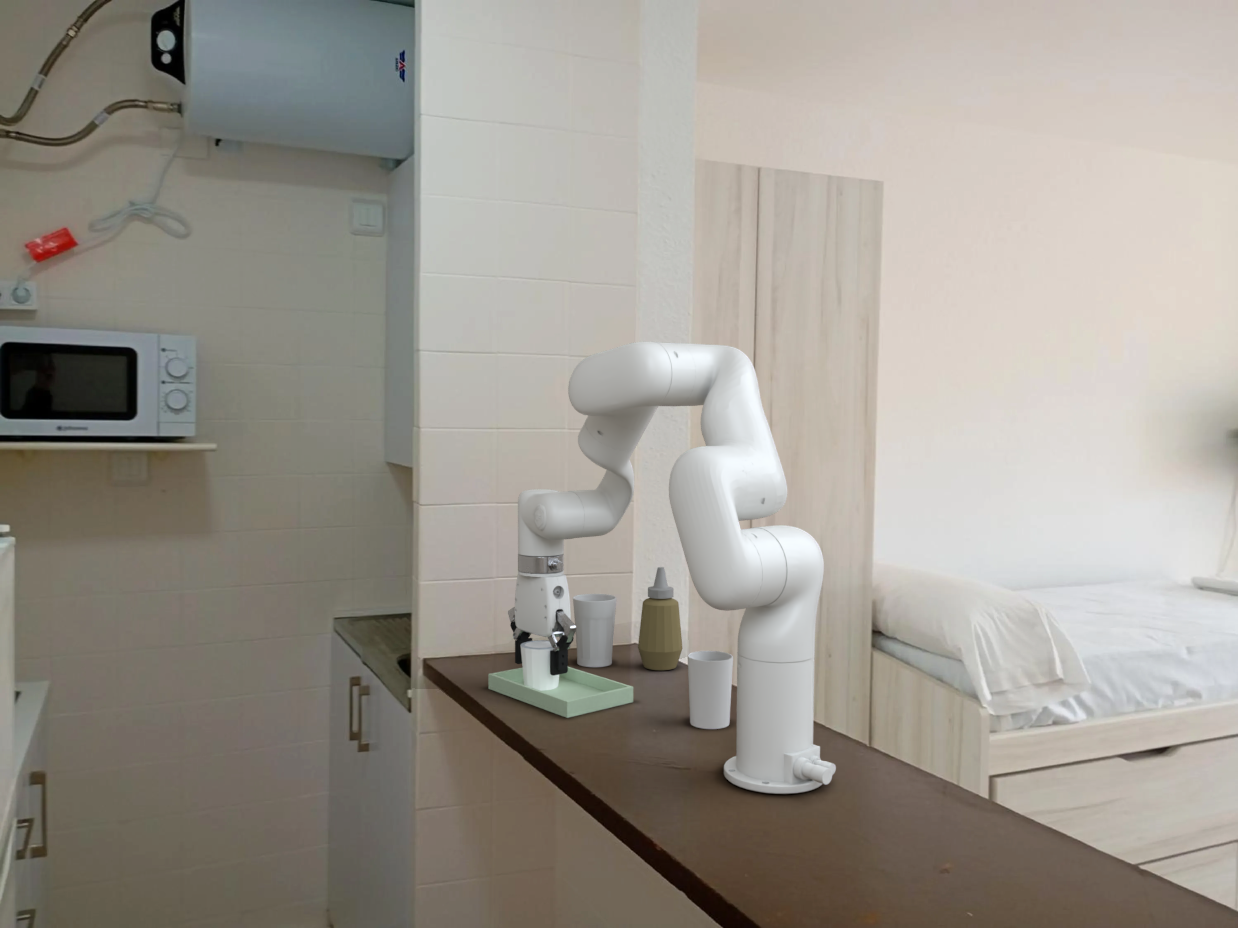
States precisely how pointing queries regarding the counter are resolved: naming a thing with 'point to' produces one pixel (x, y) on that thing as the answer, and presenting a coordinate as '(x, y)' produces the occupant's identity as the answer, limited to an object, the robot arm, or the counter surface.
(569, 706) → the tray
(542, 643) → the white tapered cup
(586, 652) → the cup
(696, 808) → the counter surface
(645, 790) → the counter surface
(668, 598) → the squeeze bottle
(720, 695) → the white tumbler
